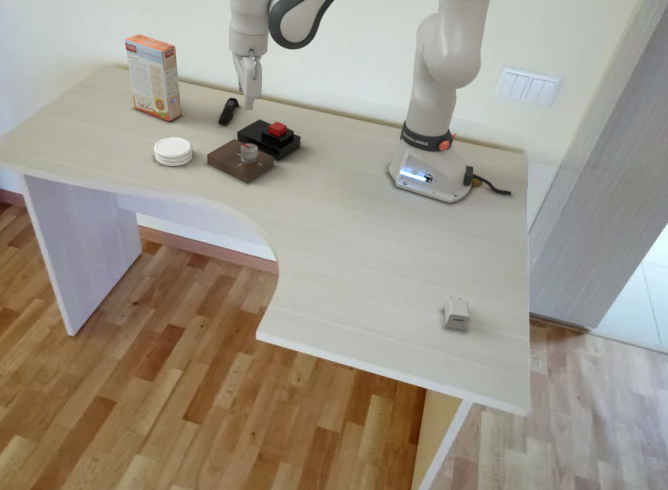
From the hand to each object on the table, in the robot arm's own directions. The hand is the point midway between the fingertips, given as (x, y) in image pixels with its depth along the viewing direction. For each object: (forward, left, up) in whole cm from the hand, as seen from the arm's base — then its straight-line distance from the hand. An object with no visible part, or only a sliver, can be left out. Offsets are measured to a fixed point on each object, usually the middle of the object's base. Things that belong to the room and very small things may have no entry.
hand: (245, 99), depth 130 cm
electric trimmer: (+23, -20, -20) cm, 36 cm away
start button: (0, -14, -15) cm, 20 cm away
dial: (-1, -1, -17) cm, 17 cm away
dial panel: (+2, -1, -20) cm, 20 cm away
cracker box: (+40, -7, -20) cm, 45 cm away
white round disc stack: (+18, +8, -20) cm, 28 cm away
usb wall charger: (-67, +13, -20) cm, 71 cm away
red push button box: (+3, -14, -20) cm, 24 cm away
